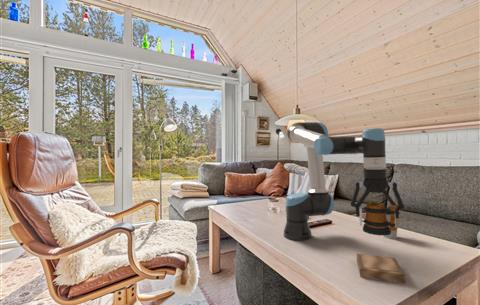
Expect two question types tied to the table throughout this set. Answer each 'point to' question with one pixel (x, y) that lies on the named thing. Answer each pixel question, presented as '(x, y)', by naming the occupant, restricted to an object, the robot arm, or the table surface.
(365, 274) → the base
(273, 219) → the table surface
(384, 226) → the mug
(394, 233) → the coffee cup
